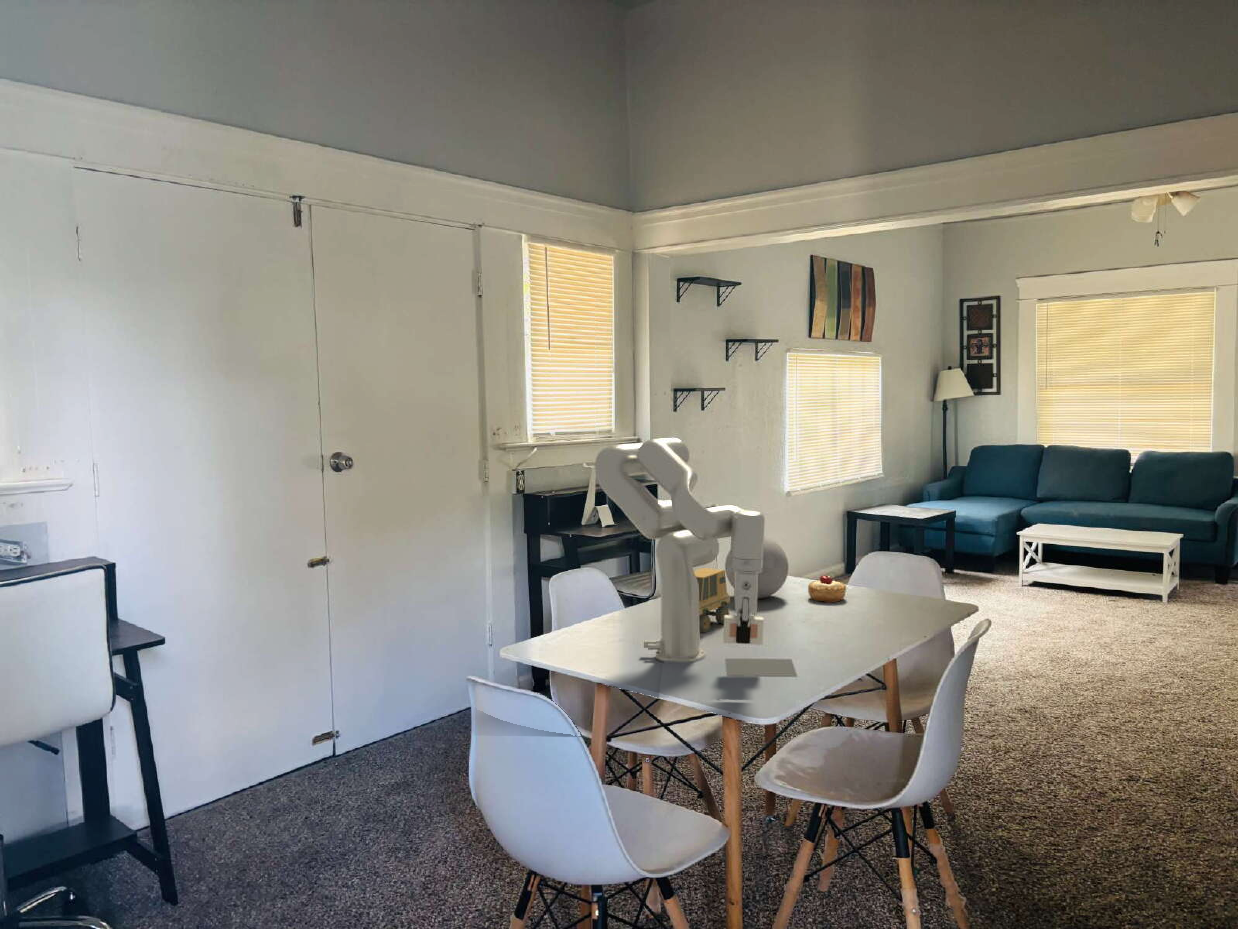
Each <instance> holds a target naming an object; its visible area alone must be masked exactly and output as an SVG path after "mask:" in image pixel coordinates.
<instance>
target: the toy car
mask: <svg viewBox="0 0 1238 929" xmlns="http://www.w3.org/2000/svg"><path fill="white" fill-rule="evenodd" d="M693 571H694V574H695V576H696V578H697V581H698V585H699V626H700V633H707V632H708V631H709V629H710V626H711V617H715V621H716V623H718V624H719V623H721V625H724V615H730V612H729V608H728V605H729V604H731V603H732V602H731V596H730V594H729V593H728V590H727V580H726V579H727V576H726V571H725V569H718V568H706V567H702V568H699V569H695V570H693ZM726 606H727V607H726ZM714 610H715V611H714ZM710 616H711V617H710Z"/></svg>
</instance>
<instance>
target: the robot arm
mask: <svg viewBox="0 0 1238 929" xmlns="http://www.w3.org/2000/svg"><path fill="white" fill-rule="evenodd" d="M689 459H690V451H689V448H688V446H687V444H685V442H684V441H682V440H681V439H679V438H677V437H662V438H653V439H649V440H646V441H644V442H634V443H633V442H632V443H631V442H630V443H620V444H618V443H617V444H613V445H609V446H606V447H604V448H603V449H601V450H600V451H599V452H598V454H597V455H596V457H595V461H594V470H595V472H594V473H595V477H596V479H597V482H598V484H599V486H600V488H601V490H602V491H603V492H604V494H606V495H607V497H608V498H610V500H611V501H613V502H614V504H616V505H617V506H618V508H620V510H621V511H622V512H623V513H624V515H625V516H626V517H627V518H628V519H629V521H630V522H631V523H632V524H633V525H634V526H635V527H636V528H637V530H638V531H639V532H640V533H641V534H642V536H644V537H645V538H647V539H649V540H658V542H657V544H656V549H655V556H656V561H657V562H656V563H657V565H658V566H657V567H658V572H659V581H660V583H659V584H660V628H661V629H660V630H661V631H660V634H661V636H660V638H657V639H656V640H646V639H645V640H643V648H644V649H647V650H648V651H649V650H651V651H654V650H655V654H654V655H655V658H656V659H657V660H658V661H660V662H662V663H663V662H669V663H692V662H697V661H700V660H701V661H702V660H703V659H705V658H706V656H707V652H706V651H705V649H702V648H701V645H700V644H701V642H700V641H701V638H700V636H701V635H700V633H701V632H700V626H699V585H698V581H697V578H696V576H695V574H694V571H695V570H694V568H696V567H700V566H705V565H708V564H710V563H712V562H714V561H715V560H716V558H717V557H718V556H719V552H720V543H719V539H723V538H730V549H731V551H730V550H729V551H730V570H731V571H733V572H735V576H734V588H733V599H734V600H733V601H734V608H735V614H736V616H738V626H737V629H736V642H737V643H746V644H745V645H750V644H749V643H750V629H751V626H750V616H752V615H753V616H754V617H756V616H757V614H758V598H757V593H758V573H760V572H762V564H763V543H764V536H765V522H766V521H765V520H766V519H765V516H764V514H763V513H761V512H760V511H756V510H746V509H742V508H740V507H738V506H735V505H731V504H727V505H719V506H718V505H716V506H710V507H705V506H704V505H702V504H701V503H700V502H699V500H697V499H696V497H695V496H694V495H693V494H692V490H693V489H694V488H695V486H696V484H697V483H698V482H697V481H698V473H697V472H696V471H695V470H694V469H693V468H692V467H691V466H690V465H689V464H688V462H689ZM642 475H650V477H651V478H652V479H653V480H654V481H655V482H656V483H657V484H658V485H659V486H660V487H661V488H662V489H663V490H664V492H666V493H667V494H668V495H669V496H670V499H665V500H660V499H658V498H656V497H655V496H654V495H653V494H652V493H651V492H650V491H649V490H648V488H647V487H646V486H645V485H643V483H641V482H639V481H638V480H635V479H634V478H632V476H642ZM659 539H660V540H659ZM741 616H742V617H741Z"/></svg>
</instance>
